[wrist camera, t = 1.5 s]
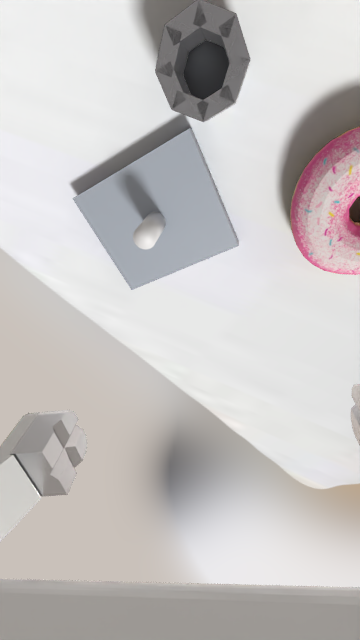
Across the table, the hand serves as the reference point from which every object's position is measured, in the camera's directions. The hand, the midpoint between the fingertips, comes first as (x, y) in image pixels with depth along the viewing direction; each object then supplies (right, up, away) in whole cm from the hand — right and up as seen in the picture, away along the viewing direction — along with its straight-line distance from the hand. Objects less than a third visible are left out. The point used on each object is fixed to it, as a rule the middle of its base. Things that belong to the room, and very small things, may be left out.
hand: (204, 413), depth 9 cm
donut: (+17, +15, +21) cm, 31 cm away
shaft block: (-3, +14, +25) cm, 29 cm away
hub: (+2, +24, +17) cm, 30 cm away
